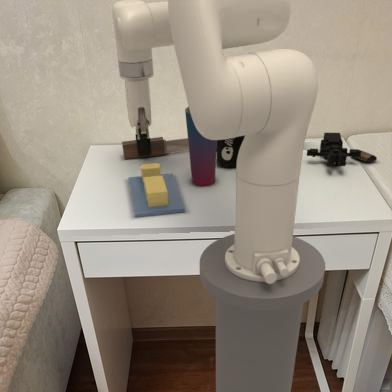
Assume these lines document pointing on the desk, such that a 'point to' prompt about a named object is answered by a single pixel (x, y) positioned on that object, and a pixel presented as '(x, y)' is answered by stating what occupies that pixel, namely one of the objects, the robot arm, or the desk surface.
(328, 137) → the toy
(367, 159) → the block
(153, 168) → the butter pat
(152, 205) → the butter bar
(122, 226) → the desk surface
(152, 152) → the knife
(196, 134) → the cup
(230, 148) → the beverage can
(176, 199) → the butter plate
